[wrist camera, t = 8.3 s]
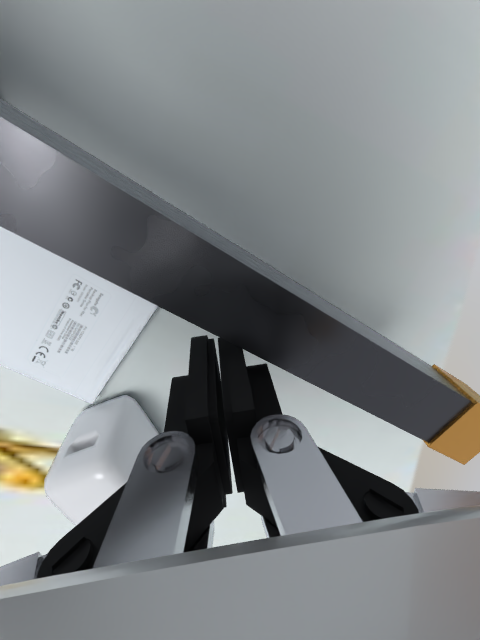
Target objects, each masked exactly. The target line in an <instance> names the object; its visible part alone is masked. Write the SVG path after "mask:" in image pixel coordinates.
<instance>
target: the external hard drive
mask: <svg viewBox="0 0 480 640" xmlns="http://www.w3.org/2000/svg"><path fill="white" fill-rule="evenodd" d="M157 307H158V306H157V305H155V304H153V303H151V302H149V301H147V300H145V299H143V298H141V297H139V296H137V295H135V294H133V293H131V292H129V291H127V290H125V289H123V288H121V287H119V286H117V285H115V284H113V283H111V282H109V281H107V280H105V279H103V278H101V277H99V276H98V275H96V274H94V273H92V272H90V271H88V270H86V269H84V268H82V267H80V266H78V265H76V264H74V263H72V262H70V261H68V260H66V259H64V258H62V257H60V256H58V255H56V254H54V253H52V252H50V251H48V250H46V249H44V248H42V247H40V246H38V245H36V244H34V243H32V242H30V241H28V240H26V239H24V238H22V237H20V236H18V235H16V234H14V233H12V232H10V231H8V230H6V229H4V228H2V227H0V365H1V366H3V367H6V368H8V369H10V370H13V371H15V372H17V373H20V374H22V375H24V376H27V377H29V378H32V379H34V380H36V381H39V382H41V383H43V384H46V385H48V386H51V387H53V388H55V389H58V390H60V391H63V392H65V393H67V394H70V395H72V396H74V397H76V398H79V399H81V400H83V401H86V402H88V403H91V404H93V402H94V401H95V400H96V398H97V397H98V395H99V393H100V392H101V390H102V389H103V387H104V386H105V385H106V383H107V381H108V380H109V378H110V377H111V375H112V374H113V372H114V371H115V369H116V368H117V366H118V365H119V363H120V362H121V360H122V359H123V358H124V356H125V355H126V353H127V352H128V350H129V349H130V347H131V346H132V344H133V343H134V341H135V340H136V338H137V337H138V335H139V334H140V332H141V331H142V329H143V328H144V326H145V325H146V323H147V322H148V320H149V319H150V317H151V316H152V314H153V313H154V312H155V310H156V309H157Z"/></svg>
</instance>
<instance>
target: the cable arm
mask: <svg viewBox="0 0 480 640" xmlns="http://www.w3.org/2000/svg"><path fill="white" fill-rule="evenodd" d="M0 227H2V228H4V229H6V230H8V231H10V232H12V233H14V234H16V235H18V236H20V237H22V238H24V239H26V240H28V241H30V242H32V243H34V244H36V245H38V246H40V247H42V248H44V249H46V250H48V251H50V252H52V253H54V254H56V255H58V256H60V257H62V258H64V259H66V260H68V261H70V262H72V263H74V264H76V265H78V266H80V267H82V268H84V269H86V270H88V271H90V272H92V273H94V274H96V275H98V276H99V277H101V278H103V279H105V280H107V281H109V282H111V283H113V284H115V285H117V286H119V287H121V288H123V289H125V290H127V291H129V292H131V293H133V294H135V295H137V296H139V297H141V298H143V299H145V300H147V301H149V302H151V303H153V304H155V305H157V306H159V307H161V308H163V309H165V310H167V311H169V312H171V313H173V314H175V315H177V316H179V317H181V318H183V319H185V320H187V321H189V322H191V323H193V324H195V325H196V326H198V327H200V328H202V329H204V330H206V331H208V332H210V333H212V334H214V335H216V336H218V337H220V338H222V339H224V340H226V341H228V342H230V343H232V344H234V345H236V346H238V347H240V348H242V349H244V350H246V351H248V352H250V353H252V354H254V355H256V356H258V357H260V358H262V359H264V360H266V361H268V362H270V363H272V364H274V365H276V366H278V367H280V368H282V369H284V370H286V371H288V372H290V373H292V374H293V375H295V376H297V377H299V378H301V379H303V380H305V381H307V382H309V383H311V384H313V385H315V386H317V387H319V388H321V389H323V390H325V391H327V392H329V393H331V394H333V395H335V396H337V397H339V398H341V399H343V400H345V401H347V402H349V403H351V404H353V405H355V406H357V407H359V408H361V409H363V410H365V411H367V412H369V413H371V414H373V415H375V416H377V417H379V418H381V419H383V420H385V421H387V422H389V423H391V424H392V425H394V426H396V427H398V428H400V429H402V430H404V431H406V432H408V433H410V434H412V435H414V436H416V437H418V438H420V439H422V440H423V441H424V442H425V443H426V445H427V446H428V447H429V448H432V449H433V450H436V451H438V452H440V453H442V454H444V455H446V456H448V457H450V458H452V459H454V460H456V461H458V462H460V463H462V464H464V465H465V464H466V463H467V462H468V461H469V460H471V459H472V458H473V457H474V456H475V455H477V454H478V453H479V452H480V396H479V395H478V394H477V393H476V392H475V391H473V390H472V389H471V388H470V387H469V386H468V385H466V384H465V383H463V382H462V381H460V380H459V379H457V378H455V377H454V376H452V375H451V374H449V373H447V372H446V371H444V370H443V369H441V368H439V367H438V366H436V365H435V364H434V365H433V366H430V365H429V364H427V363H426V362H424V361H422V360H421V359H419V358H418V357H416V356H414V355H413V354H411V353H410V352H408V351H406V350H405V349H403V348H401V347H400V346H398V345H397V344H395V343H393V342H392V341H390V340H389V339H387V338H385V337H384V336H382V335H381V334H379V333H377V332H376V331H374V330H373V329H371V328H369V327H368V326H366V325H364V324H363V323H361V322H360V321H358V320H356V319H355V318H353V317H352V316H350V315H348V314H347V313H345V312H344V311H342V310H340V309H339V308H337V307H335V306H334V305H332V304H331V303H329V302H327V301H326V300H324V299H323V298H321V297H319V296H318V295H316V294H315V293H313V292H311V291H310V290H308V289H306V288H305V287H303V286H302V285H300V284H298V283H297V282H295V281H294V280H292V279H290V278H289V277H287V276H286V275H284V274H282V273H281V272H279V271H278V270H276V269H274V268H273V267H271V266H269V265H268V264H266V263H265V262H263V261H261V260H260V259H258V258H257V257H255V256H253V255H252V254H250V253H249V252H247V251H245V250H244V249H242V248H240V247H239V246H237V245H236V244H234V243H232V242H231V241H229V240H228V239H226V238H224V237H223V236H221V235H220V234H218V233H216V232H215V231H213V230H211V229H210V228H208V227H207V226H205V225H203V224H202V223H200V222H199V221H197V220H195V219H194V218H192V217H191V216H189V215H187V214H186V213H184V212H183V211H181V210H179V209H178V208H176V207H174V206H173V205H171V204H170V203H168V202H166V201H165V200H163V199H162V198H160V197H158V196H157V195H155V194H154V193H152V192H150V191H149V190H147V189H145V188H144V187H142V186H141V185H139V184H137V183H136V182H134V181H133V180H131V179H129V178H128V177H126V176H125V175H123V174H121V173H120V172H118V171H116V170H115V169H113V168H112V167H110V166H108V165H107V164H105V163H104V162H102V161H100V160H99V159H97V158H96V157H94V156H92V155H91V154H89V153H88V152H86V151H84V150H83V149H81V148H79V147H78V146H76V145H75V144H73V143H71V142H70V141H68V140H67V139H65V138H63V137H62V136H60V135H59V134H57V133H55V132H54V131H52V130H50V129H49V128H47V127H46V126H44V125H42V124H41V123H39V122H38V121H36V120H34V119H33V118H31V117H30V116H28V115H26V114H25V113H23V112H21V111H20V110H18V109H17V108H15V107H13V106H12V105H10V104H9V103H7V102H5V101H4V100H2V99H1V98H0Z"/></svg>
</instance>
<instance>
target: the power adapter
mask: <svg viewBox="0 0 480 640" xmlns="http://www.w3.org/2000/svg"><path fill="white" fill-rule="evenodd" d="M156 435H159V433H158V431H157V429H156V428H155V427H154V425H153V424H152V422H151V421H150V419H149V418H148V416H147V415H146V413H145V412H144V411H143V409H142V408H141V406H140V405H139V404H138V403H137V401H136V400H135V399H134V398H132V397H129V396H127V395H123V396H119V397H116V398H113V399H110V400H108V401H105V402H102V403H100V404H97V405H95V406H92V407H90V408H88V409H86V410H84V411H82V412H81V413H80V414H79V415H78V416H77V418H76V419H75V421H74V423H73V424H72V426H71V428H70V429H69V431H68V433H67V435H66V437H65V439H64V441H63V443H62V445H61V447H60V449H59V451H58V453H57V455H56V456H55V459H54V461H53V463H52V465H51V467H50V469H49V471H48V473H47V476H46V478H45V492H46V497H47V498H48V499H49V500H50V501H51V502H52V503H53V504H54V506H55V507H56V508H57V509H58V510H59V511H60V512H61V513H62V514H63V515H64V516H66V517H67V518H68V519H69V520H70V521H71V522H72V523H73V524H74V525H75V526H77V525H78V524H79V523H80V522H81V521H82V520H83V519H85V518H86V517H87V516H88V515H89V514H90V513H92V512H93V511H94V510H95V509H96V508H97V507H99V506H100V505H101V504H102V503H103V502H104V501H105V500H107V499H108V498H109V497H110V496H111V495H112V494H114V493H115V492H116V491H117V490H118V489H119V488H120V487H122V486H123V485H124V484H125V483H126V482H127V481H128V478H129V476H130V473H131V471H132V468H133V466H134V463H135V461H136V458H137V456H138V454H139V452H140V450H141V448H142V447H143V446H144V445H145V444H146V443H147V442H148V441H149V440H150V439H152V438H153V437H155V436H156Z"/></svg>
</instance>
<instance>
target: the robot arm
mask: <svg viewBox="0 0 480 640" xmlns="http://www.w3.org/2000/svg"><path fill="white" fill-rule="evenodd" d="M218 345H219V358H220V371H221V378H220V372H219V366H218V360H217V354H216V348H215V343H214V339H208V337H207V335H206V336H199V337H192V338H191V348H190V361H189V374H188V375H187V376H180V377H174V378H172V382H171V389H170V396H169V402H168V409H167V416H166V422H165V429H164V433H161V434H159V435H156V436H155V437H153V438H152V439H150V440H149V441H148V442H147V443H146V444H145V445H144V446H143V447H142V448H141V450H140V452H139V454H138V456H137V458H136V461H135V463H134V466H133V468H132V471H131V473H130V476H129V478H128V481H127V482H126V483H125V484H124V485H123V486H122V487H120V488H119V489H118V490H117V491H116V492H115V493H114V494H112V495H111V496H110V497H109V498H108V499H107V500H105V501H104V502H103V503H102V504H101V505H100V506H99V507H97V508H96V509H95V510H94V511H93V512H92V513H90V514H89V515H88V516H87V517H86V518H85V519H83V520H82V521H81V522H80V523H79V524H78V525H77V526H75V527H74V528H73V529H72V530H71V531H70V532H68V533H67V534H66V535H65V536H64V537H63V538H62V539H60V540H59V541H58V542H57V543H56V544H55V546H54V547H53V548H52V549H51V550H50V551H49V553H48V554H46V555H43V556H42V555H41V554H40V552H37V553H35V554H32V555H29V556H27V557H24V558H22V559H19V560H17V561H14V562H12V563H9V564H6V565H4V566H1V567H0V640H480V492H477V491H458V490H441V489H422V488H415V491H414V493H409V492H405V491H404V490H402V489H401V488H399V487H397V486H396V485H394V484H393V483H391V482H388V481H386V480H384V479H382V478H380V477H378V476H376V475H374V474H372V473H370V472H368V471H366V470H364V469H362V468H360V467H358V466H356V465H354V464H352V463H350V462H348V461H346V460H344V459H342V458H339V457H337V456H335V455H333V454H331V453H329V452H327V451H325V450H323V449H321V448H319V447H317V445H316V443H315V442H314V440H313V438H312V437H311V435H310V434H309V432H308V430H307V429H306V427H305V426H304V425H303V424H302V422H301V421H299V420H297V419H296V418H294V417H291V416H288V415H282V411H281V408H280V405H279V402H278V399H277V395H276V392H275V389H274V386H273V382H272V379H271V376H270V373H269V370H268V367H267V364H260V365H254V366H247V367H246V364H245V359H244V354H243V349H242V348H240V347H238V346H236V345H234V344H232V343H230V342H228V341H226V340H224V339H222V338H218ZM228 440H229V446H230V452H231V457H232V463H233V469H234V475H235V480H236V486H237V491H238V493H239V492H244V493H245V499H246V505H248V506H249V507H250V508H252V509H253V510H255V511H256V512H257V513H259V514H260V515H261V519H262V524H263V527H264V530H265V533H266V536H267V538H266V539H260V540H254V541H248V542H242V543H236V544H231V545H225V546H219V547H213V548H212V545H213V537H214V521H213V520H214V519H215V518H216V517H217V516H218V514H219V513H220V512H221V511H222V510H223V508H224V507H226V494H232V481H231V469H230V458H229V446H228Z"/></svg>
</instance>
